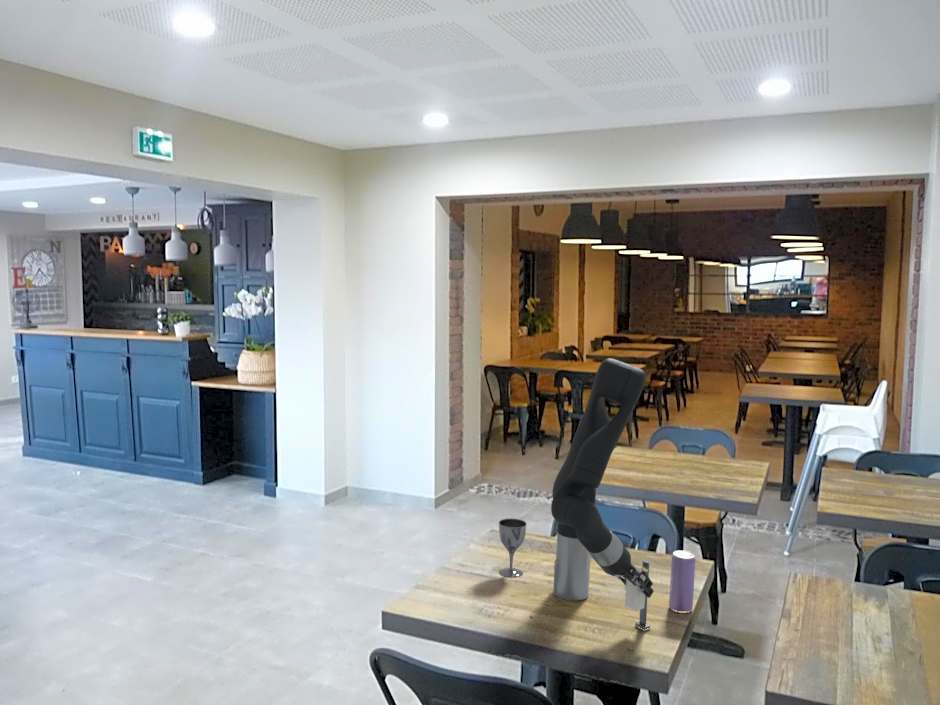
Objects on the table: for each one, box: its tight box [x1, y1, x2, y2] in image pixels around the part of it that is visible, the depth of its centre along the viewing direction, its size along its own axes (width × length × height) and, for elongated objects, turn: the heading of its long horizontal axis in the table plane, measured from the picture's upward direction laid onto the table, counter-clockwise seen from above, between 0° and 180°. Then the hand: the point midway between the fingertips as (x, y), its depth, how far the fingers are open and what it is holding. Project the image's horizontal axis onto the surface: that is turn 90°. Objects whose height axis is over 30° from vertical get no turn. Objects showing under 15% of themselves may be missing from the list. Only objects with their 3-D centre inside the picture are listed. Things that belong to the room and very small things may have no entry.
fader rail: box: [634, 560, 651, 630], centre depth 186 cm, size 2×3×17 cm, turn 34°
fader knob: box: [624, 566, 647, 612], centre depth 184 cm, size 3×4×9 cm
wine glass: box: [498, 517, 527, 579], centre depth 219 cm, size 8×8×15 cm
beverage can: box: [668, 550, 696, 611], centre depth 198 cm, size 6×6×15 cm
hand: (640, 589), depth 185 cm, fingers open, 6 cm apart
